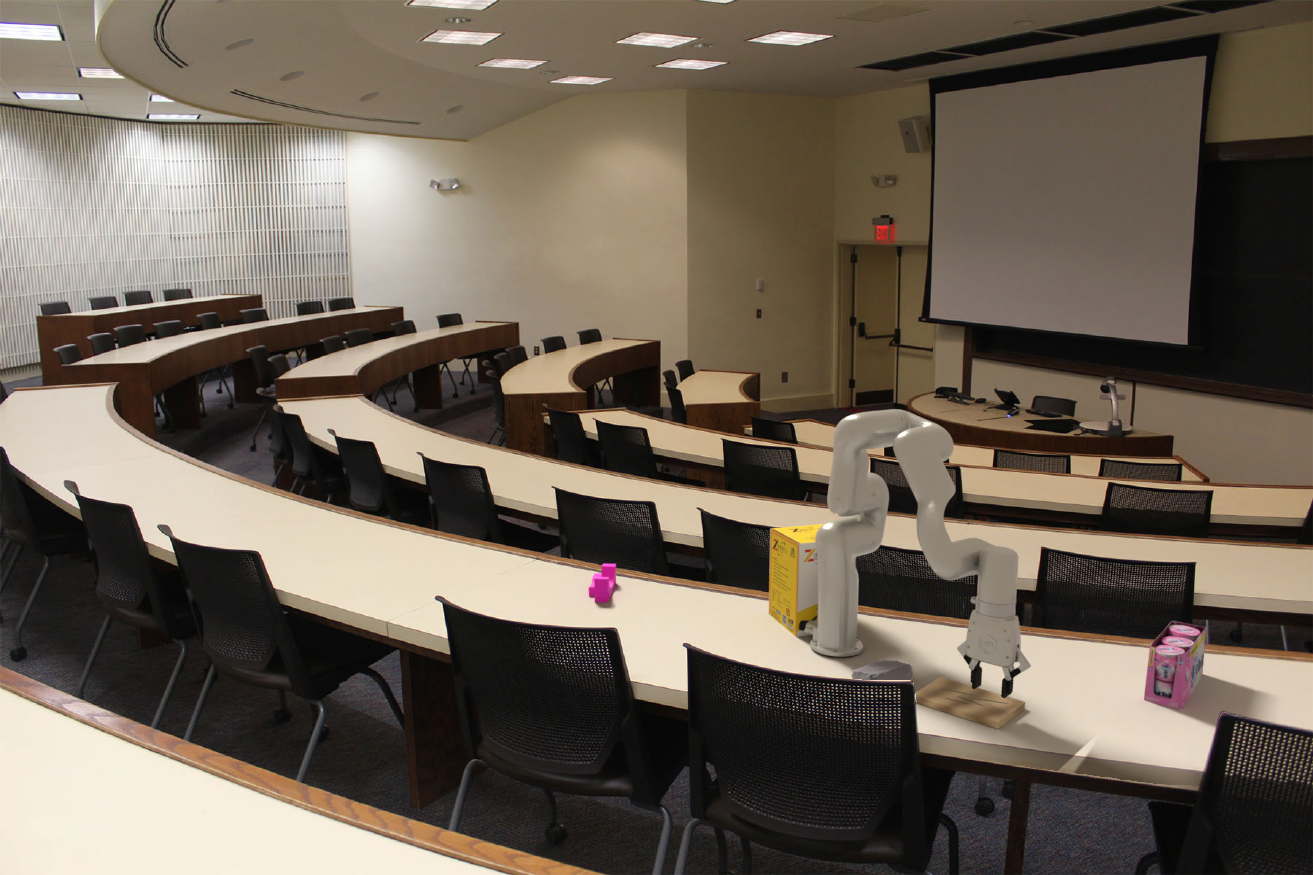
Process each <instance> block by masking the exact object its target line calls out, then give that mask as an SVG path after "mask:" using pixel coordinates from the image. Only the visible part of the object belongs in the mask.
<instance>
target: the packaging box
mask: <svg viewBox="0 0 1313 875" xmlns="http://www.w3.org/2000/svg"><path fill="white" fill-rule="evenodd" d="M824 524H825V523H820V524H819V523H818V524H808V525H796V526H786V527H784V526H783V527H772V528H770V529H769V533H770V534H769V575H768V578H769V581H768V588H769V589H768V615H770V616H771V617H772V618H773V619H774V620H775V621H777V623H778V624H780V625H781V626H783V627H784V628H785V629H786V630H787V631H788V632H790V633H791V634H792V635H793V636H794V637H795V638H799V637H804V636H805V637H806V636H811V635H812V634H809V633H806V632H805V628H806V624H807V623H808V622H810V623H814V624H816V625H817V613H818V558H817V552H816V546H815V537H816V533H817V531H818V530H819V528H820V527H821V526H822V525H824ZM853 563H854V565H855V567H856V568H857V557H854V558H853ZM812 636H813V635H812Z"/></svg>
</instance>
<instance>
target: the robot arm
mask: <svg viewBox="0 0 1313 875" xmlns="http://www.w3.org/2000/svg"><path fill="white" fill-rule="evenodd" d="M832 445H833V446H832V447H833V448H832V449H833V450H832V451H833V452H832V453H833V454H832V463H831V468H830V477H829V481H828V490H827V497H826V500H827V507H828V509H829V512H830V513H832V514H833V515H835V516H837V517H840V518H839V519H834V520H831V521H828V522H826V523H823V524H824V525H822V526H821V527H820V528H819V530H818V531H817V533H816V537H815V546H816V552H817V558H818V613H817V625H816V624H814V623H810V622H808V623H807V624H806V628H805V632H806V633H809V634H812V638H811V639H810V642H809V646H810V648H811V649H812V650H813V651H815V652H816V653H818V654H821V655H824V656H830V657H839V658H841V657H842V658H843V657H852V656H857V655H859V654H861V653H862V652H863V651H864V643H863V642H862V641H861V640H859V639H858V638H857V636H858V610H859V581H860V580H859V579H860V577H859V573H858V570H857V566H856V567H855V565H854V563H853V558H854V557H856V558H857V557H860V556H863V555H864V556H865V555H869V554H871V553H874V552H875V551H876V550H878V549H879V548H880V546H881V544H882V542H883V538H884V536H885V535H884V534H885V527H886V521H887V516H888V508H889V502H890V492H889V488H888V485H887V483H886V480H884V478H883V477H881V476H880V475H878V474H877V473H874V472H869V468H870V458H869V454H868V452H867V451H868V450H873V449H881V448H882V449H883V448H890V447H893V448H892V449H893V452H894V455H895V457H896V460H897V462H898V464H899V466H900V468H901V470H902V473H903V475H904V477H905V480H906V481H907V483H908V485H909V487H910V490H911V492H912V493H913V496H914V498H915V500H916V502H917V513H916V534H917V535H916V537H917V539H918V543H919V546H920V548H921V550H922V553H923V554H924V557H925V559H926V561H927V563H928V565H929V566H930V568H931V569H932V571H933V572H934V573H935V575H937V576H938V577H939V578H940V579H943V580H945V581H955V580H959V579H962V578H965V577H969V576H970V577H971V576H975V575H976V576H977V589H976V590H977V592H976V594H977V595H976V596H971V598H970V603H971V604H973V605H975V609H973V610H972V611H971V614H970V617H969V621H968V626H967V632H966V639H965V640H964V641H963V642H962V643H961V644H960V645H957V648H956V649H957V651H958V653H960V655H961V656H962V657H963V659H964V661H965V663H966V664H967V665H968V669H969V670H970V681H969V682H970V683H971V686H972V689H976V688H979V687H980V686H982V678H983V667H982V666H981V664H982V663H985V664H990V665H993V666H996V667H1000V668H1002V671H1003V675H1004V678H1003V679H1002V680H1001V693H1000V695H1001V697H1002V698H1006V697H1010V695H1011V694H1012V693H1013V691H1014V690H1013V689H1014V678H1016V677H1017V676H1018V675H1020V674H1022V673H1024V672H1025V671H1027V670H1028V669H1030V668H1031V666H1032V665H1031V663H1030V662H1029V660H1028V659H1027V658H1026V657H1025V655H1024V653H1023V652H1022V646H1021V645H1022V643H1021V642H1022V641H1021V640H1022V639H1021V628H1020V620H1019V616H1018V615H1016V606H1017V589H1018V574H1019V555H1018V553H1017V552H1016V550H1014V549H1013V548H1010V547H1006V546H1000V545H999V546H998V545H995V544H992V543H990V542H988V541H987V540H984V539H981V538H979V537H978V538H977V537H968V538H964V539H960V540H955V541H952V540H951V538H950V536H949V534H948V531H947V528H946V525H945V520H944V516H945V510H946V507H947V505H948V503H949V501H950V500H951V498H952V497H953V496H954V495H955V493H956V485H955V484H954V481H953V479H952V478H951V476H950V473H949V471H948V470H947V468H946V466H945V463H944V462H945V461H947V460H948V459H950V457H951V456H952V455H953V453H954V446H955V445H954V440H953V438H952V436H951V434H950V433H949V432H948V431H947V430H946V429H945V428H944V427H942V426H941V425H939V424H938V423H936V422H933V421H930V420H929V419H926V418H923V417H921V416H918V415H916V414H915V413H912V412H910V411H907V410H903V409H898V408H897V409H896V408H893V409H892V408H891V409H882V410H871V411H862V412H857V413H853V414H850V415H847V416H845V417H844V418H842V419H841V420H840V421H839V422H838V423H837V425H836V427H835V429H834V432H833V444H832ZM841 517H842V518H841ZM1015 663H1019V665H1018V666H1017V667H1016V668H1015Z"/></svg>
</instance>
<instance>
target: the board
mask: <svg viewBox="0 0 1313 875" xmlns="http://www.w3.org/2000/svg"><path fill="white" fill-rule="evenodd" d="M915 692H916V701H917V703H916V704H918V705H922V706H925V707H928V708H931V709H935V710H936V711H937V710H938V711H941V712H944V713H947V714H950V715H954V716H955V717H956V716H957V717H959V718H963V719H965V720H969V721H972V722H974V723H978V724H980V725H981V724H982V725H984V726H986V727H990V728H994V729H997V730H999V729H1001V727H1003V726H1004V725H1005V724H1007V723H1008V722H1010V720H1012V719H1014V718H1015V717H1016V716H1017V715H1018V714H1019V713H1021V712H1023V711H1024V710H1025V709H1026V702H1025V701H1023V700H1019V699H1017V698H1013V697H1010V696H1007V697H1006V698H1002V697H1001V693H997V692H993V691H990V690H986V689H982V688H979V687H978V688H976V689H972V685H969V684H965V683H962V682H960V681H956V680H952V679H950V678H946V677H942V676H940V677H938V678H937V679H935V680H934V681H932V682H930V683H929V684H926V685H925V686H924V687H921V688H920V689H919V690H917V691H915Z"/></svg>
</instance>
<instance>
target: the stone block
mask: <svg viewBox="0 0 1313 875" xmlns="http://www.w3.org/2000/svg"><path fill="white" fill-rule="evenodd" d="M913 676H914V672H913V667H912V665H911V664H910V663H907V662H902V661H899V660H893V659H892V660H891V659H889V660H886V659H883V660H876V661H873V662H870V663H867V664H865V665H863V666H861V667H858V668H856V669H854V670H853V671H852V673H851V678H852V680H853V679H862V680H911V681H913V680H912V679H913Z"/></svg>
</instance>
